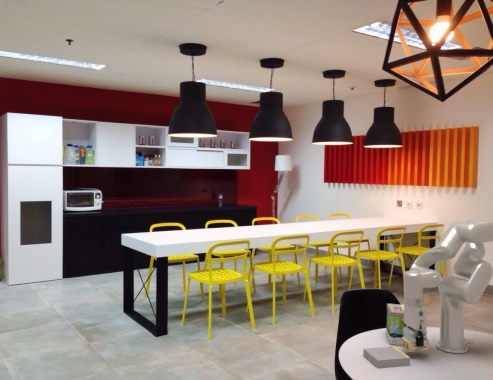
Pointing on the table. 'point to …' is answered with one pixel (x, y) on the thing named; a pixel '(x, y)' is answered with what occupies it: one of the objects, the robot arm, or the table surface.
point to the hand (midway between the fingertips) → (415, 342)
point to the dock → (386, 357)
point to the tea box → (395, 323)
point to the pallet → (413, 345)
